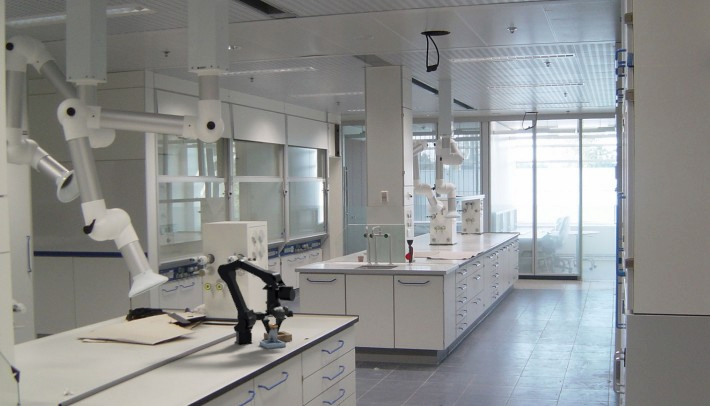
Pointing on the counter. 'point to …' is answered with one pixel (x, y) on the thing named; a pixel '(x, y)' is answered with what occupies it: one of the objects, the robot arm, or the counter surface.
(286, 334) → the brown square frame
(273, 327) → the pin
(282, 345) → the tray
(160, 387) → the counter surface
